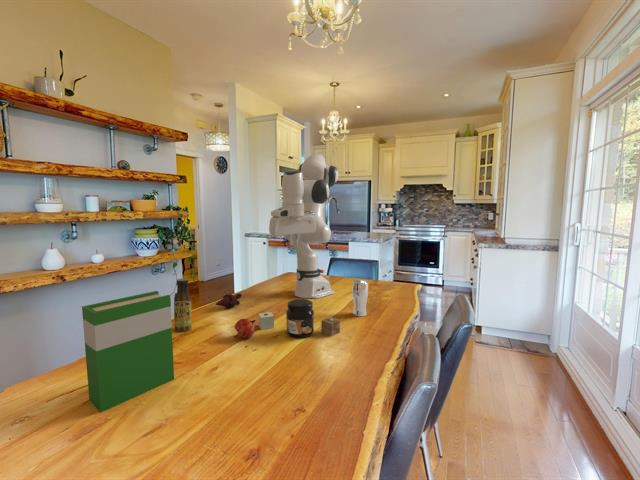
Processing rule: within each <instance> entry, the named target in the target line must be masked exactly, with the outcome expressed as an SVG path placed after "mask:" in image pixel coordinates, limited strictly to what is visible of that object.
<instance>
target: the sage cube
mask: <svg viewBox="0 0 640 480" xmlns="http://www.w3.org/2000/svg"><path fill="white" fill-rule="evenodd" d="M257 316H258V327H259V329H260V330H261V331H263V330H269V329H274V328H275V316H274V314H273V313H272V312H271V311H267V312H262V313H261V312H260V313H258V315H257Z"/></svg>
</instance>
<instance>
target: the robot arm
mask: <svg viewBox="0 0 640 480" xmlns="http://www.w3.org/2000/svg"><path fill="white" fill-rule="evenodd" d="M338 179H339V170H338V167H337V166H334V165H332V164H331V165H329V164H327V163H326V159H325V157H324V156H323V155H322V154H320V153H313V154H310V155H309V156H308V157H307V158H306V159H305V160H304V161H303V162H302V163H301V164H300V165H299V167H298V170H288V171H285V172H284V173H283V175H282V180H281V181H282V182H281V195H282V201H281V202H282V203H281V205H282V206H281V207H279V208H276V209H273V210H271V211H270V216H271V217H270V219H269V227H268V228H269V229H268V230H269V231H268V232H269V234H270V235H271V236H272V237H278V236H279V237H280V236H281V237H282V236H285V238H286V240H287V241H288V242H289V246H290V247H292V246H293V248H294V251H295V253H296V262H297V263H296V265H297V266H296V267H297V268H296V286H295V289H294V291H295V292H294V294H293V295H294V296H295V297H297V298H300V299H321V298H324V297H327V296H330V295H335V292H336V291H335V290H334V289H332V288H331V283H330V281H329V280H327V279H326V278H325V277H324V276H322V275H321V274H324V273H325V270H324V269H323V268H322V269H321V268H320V269H319V262H318V261H319V256H318V253H317V252H316V251H315V250H313V249H312V248H311V247H310V244H311V245H323V244H327V243H329V241H330V240H331V237H332V231H331V228H330V227H329V225H327V223H326V222H325V220H324V208H325V205H326V202H327V201H328V200H329V196H330V189H331V187H333V186H335V185H336V183H337V182H338Z"/></svg>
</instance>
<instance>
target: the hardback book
mask: <svg viewBox="0 0 640 480" xmlns="http://www.w3.org/2000/svg"><path fill="white" fill-rule="evenodd" d="M81 313H82V324H83V325H82V327H83V338H84V339H83V340H84V350H85V363H86V375H87V389H88V390H87V391H88V399H89V402H90V403H91V404H92V405H93V406H94V407H95V409H97V410H98V411H99V412H100V413H104V412H105V411H108V410H111V409H112V408H114V407H116V406H118V405H121V404H123V403H125V402H128V401H130V400H131V399H134V398H137V397H138V396H141V395H143V394H145V393H147V392H150V391H151V390H153V389H154V390H155V389H156V388H159V387H161V386H163V385H166V384H168V383H169V382H172V381H174V380H175V369H174V368H175V366H174V346H173V343H174V342H173V325H172V324H173V323H172V302H171V295H170V294H166V295H163V296H162V295H160V294H159V290H155V291H149V292H145V293H144V292H143V293H140V294H136V295H130V296H126V297H122V298H116V299H112V300H107V301H102V302H97V303H92V304H88V305H83V306H81Z"/></svg>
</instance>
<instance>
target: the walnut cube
mask: <svg viewBox="0 0 640 480" xmlns="http://www.w3.org/2000/svg"><path fill="white" fill-rule="evenodd" d="M340 331H341V320H340V319H338V318H334V317H331V316H329V317H326V318H324V319H321V334H324V335H326V336H329V337H333V336H335V335H337V334H340Z"/></svg>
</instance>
